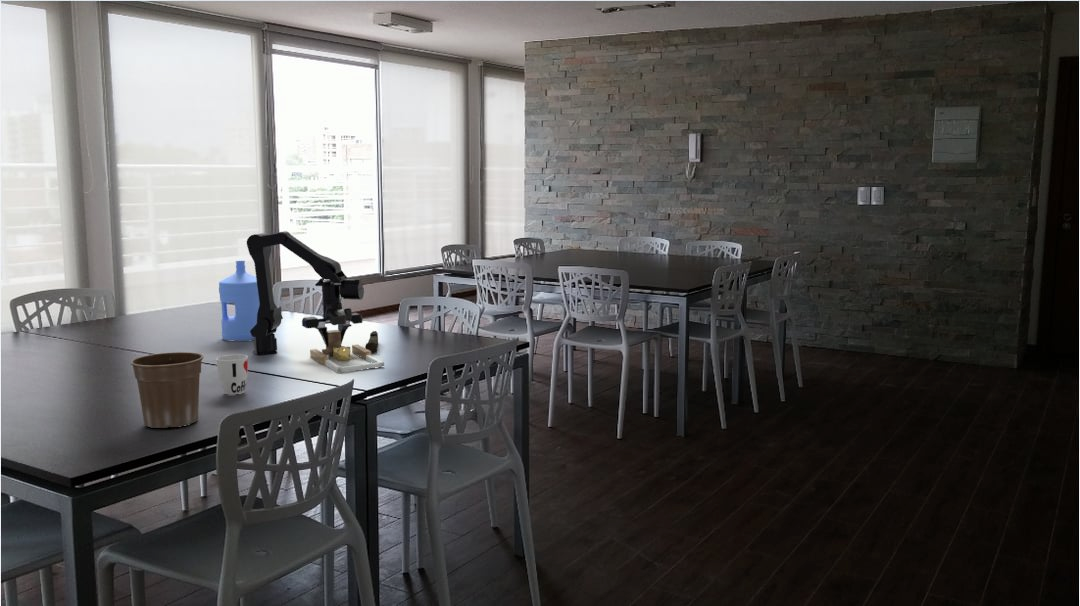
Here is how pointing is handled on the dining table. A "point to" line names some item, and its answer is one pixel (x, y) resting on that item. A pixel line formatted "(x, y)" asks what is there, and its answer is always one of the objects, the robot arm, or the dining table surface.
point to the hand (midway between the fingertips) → (333, 346)
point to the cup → (233, 373)
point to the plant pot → (168, 388)
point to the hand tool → (372, 342)
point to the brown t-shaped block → (332, 341)
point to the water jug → (239, 304)
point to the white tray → (355, 367)
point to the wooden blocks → (322, 357)
